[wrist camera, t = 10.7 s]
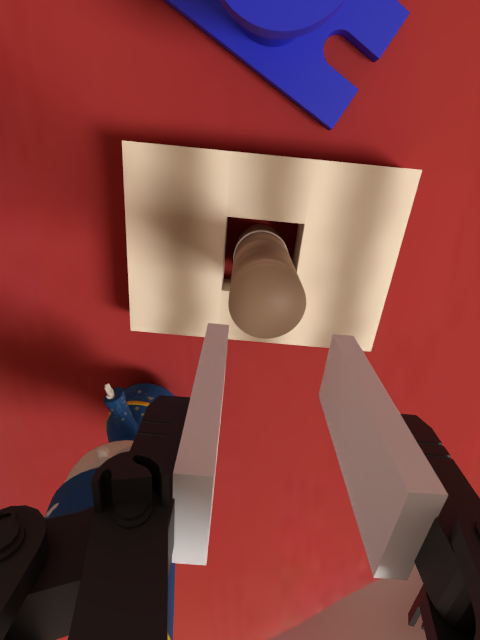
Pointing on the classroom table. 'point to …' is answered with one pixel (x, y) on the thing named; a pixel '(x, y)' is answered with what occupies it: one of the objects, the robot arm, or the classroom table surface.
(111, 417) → the blue tall vessel
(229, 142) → the classroom table surface
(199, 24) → the mount
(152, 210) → the board
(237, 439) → the classroom table surface
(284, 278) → the peg
